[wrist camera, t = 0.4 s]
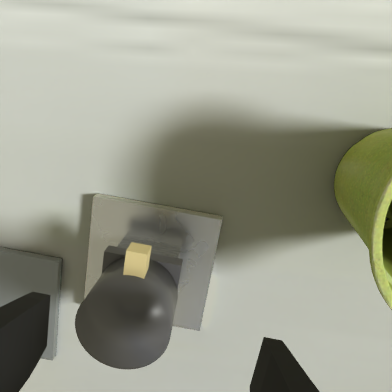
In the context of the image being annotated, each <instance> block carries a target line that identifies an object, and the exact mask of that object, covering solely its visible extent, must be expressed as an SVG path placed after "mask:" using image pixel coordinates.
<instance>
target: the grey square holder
mask: <svg viewBox="0 0 392 392" xmlns="http://www.w3.org/2000/svg"><path fill="white" fill-rule="evenodd" d="M221 225H222V216H219V215H214V214H208V213H203V212H197V211H192V210H186V209H181V208H175V207H170V206H164V205H159V204H153V203H148V202H142V201H137V200H131V199H126V198H120V197H115V196H110V195H104V194H99V193H98V194H96V195H95V196H93V203H92V214H91V225H90V236H89V248H88V259H87V270H86V281H85V293H84V299H85V298H86V296H87V295H88V294H89V292H90V291H91V289H92V288H93V286H94V285H95V283H96V282H97V281H98V279H99V278H100V276H101V275H102V266H103V256H104V251H105V250H106V248H107V247H108V246H109V245H110V246H115V247H121V248H126V249H127V248H128V247H129V245H130V244H131V242H134V243H140V244H145V245H150V246H152V247H151V253H153V254H159V255H164V256H170V257H175V258H180V259H183V263H182V268H181V274H180V279H179V285H178V299H177V305H176V310H175V315H174V320H173V325H172V326H176V327H182V328H187V329H192V330H198V331H200V326H201V322H202V317H203V312H204V307H205V302H206V297H207V293H208V288H209V283H210V278H211V273H212V268H213V263H214V259H215V254H216V249H217V244H218V239H219V234H220V230H221Z"/></svg>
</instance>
